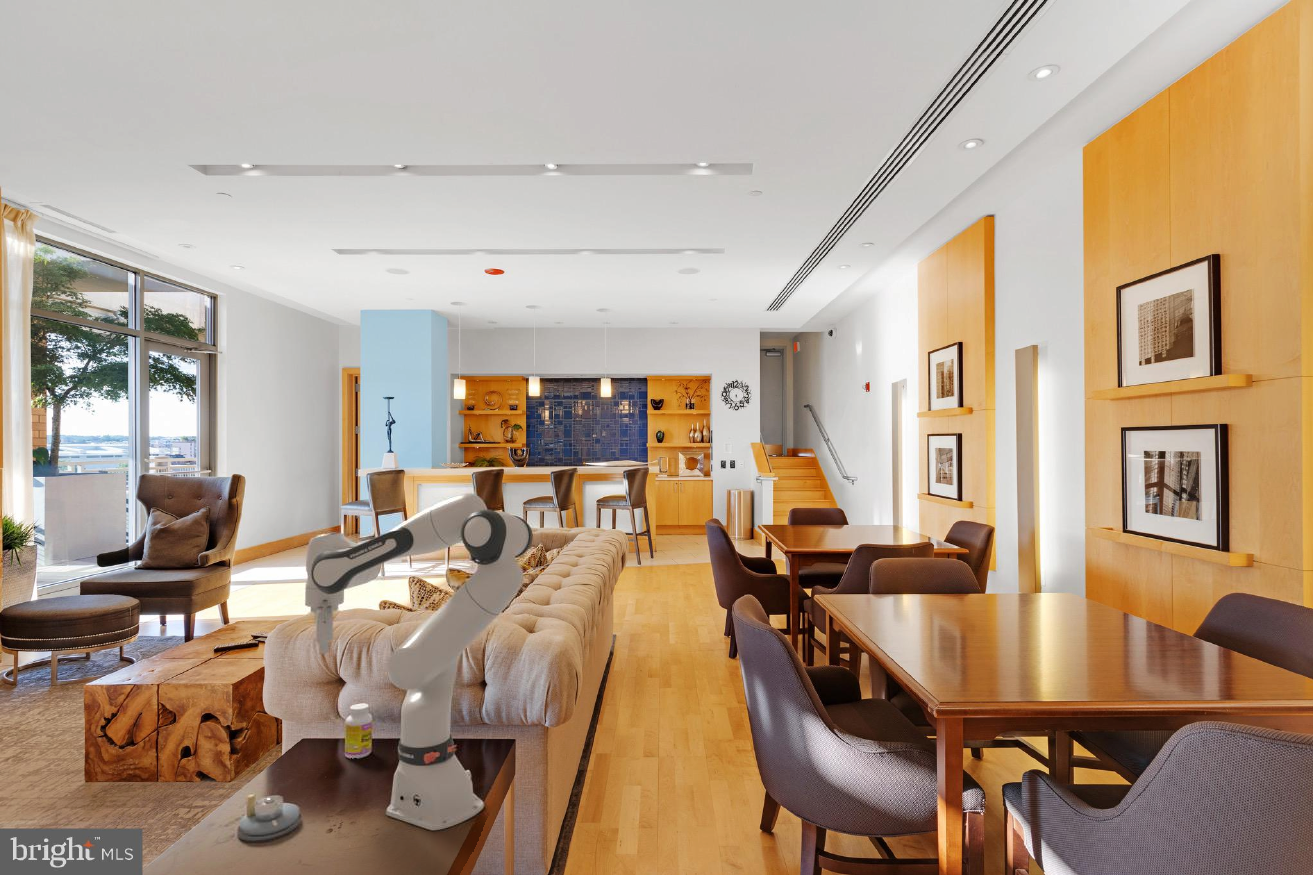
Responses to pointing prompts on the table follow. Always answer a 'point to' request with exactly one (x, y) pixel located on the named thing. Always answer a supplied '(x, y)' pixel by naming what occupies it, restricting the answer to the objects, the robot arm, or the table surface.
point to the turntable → (257, 828)
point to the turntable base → (268, 837)
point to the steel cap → (268, 809)
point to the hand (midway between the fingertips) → (323, 652)
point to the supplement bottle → (358, 732)
